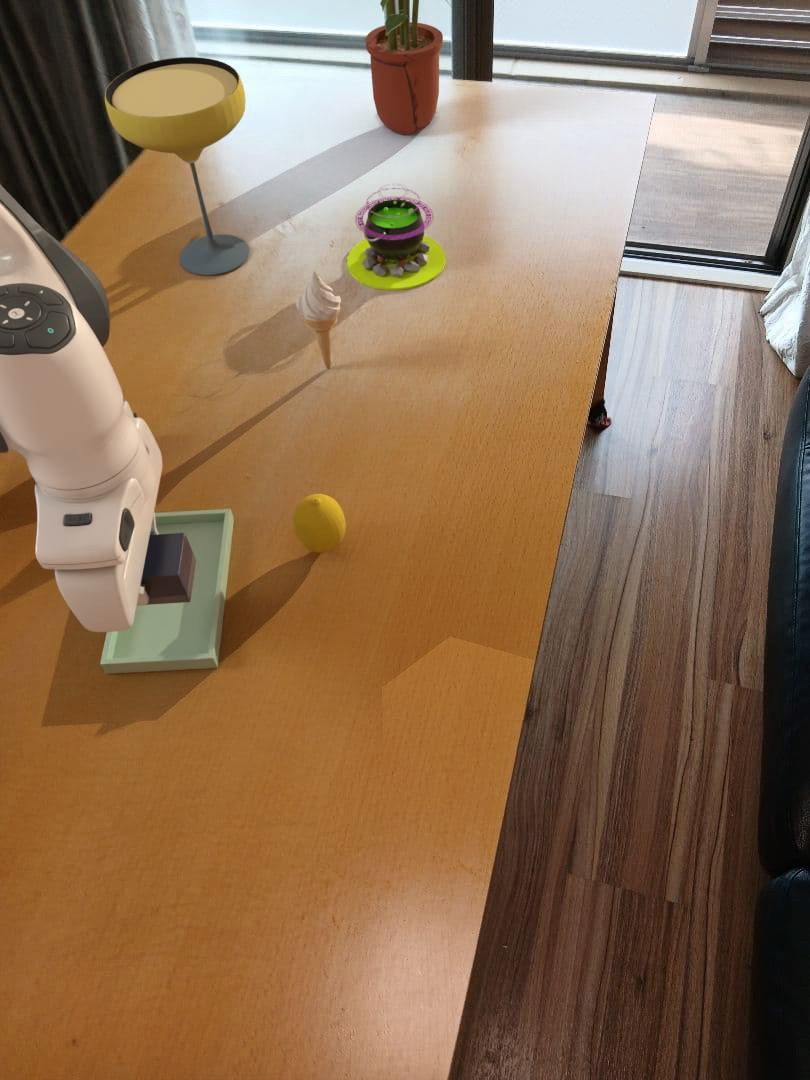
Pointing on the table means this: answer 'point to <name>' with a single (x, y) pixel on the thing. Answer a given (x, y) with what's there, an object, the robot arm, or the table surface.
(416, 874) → the table surface
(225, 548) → the tray
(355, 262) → the toy cauldron
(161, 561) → the eraser
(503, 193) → the table surface
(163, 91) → the cocktail glass
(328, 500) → the lemon
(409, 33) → the potted plant
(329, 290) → the ice cream cone
